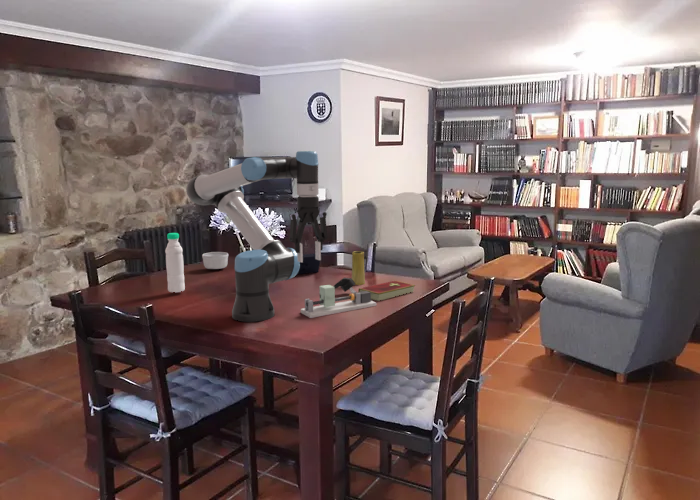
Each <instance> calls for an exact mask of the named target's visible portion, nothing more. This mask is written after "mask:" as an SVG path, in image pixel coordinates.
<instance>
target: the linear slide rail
mask: <svg viewBox="0 0 700 500" xmlns="http://www.w3.org/2000/svg"><path fill="white" fill-rule="evenodd" d="M323 303H324V300H321V301H320V300H316V301H314V300H311V299H310V298H304V307H303V308H300V313H301V314H302V315H304V316H305V317H308V318H309V319H313V318H318V317H323V316H328V315H329V316H330V315H335V314H339V313H344V312H350V311H355V310H360V309H366V308H371V307H377V302H375V301H373V300H372V299H371V292H368V291H362V292H357V291H356V290H355V292H352V293H349V295H347V296H341V297H335V306H330V307H324V305H320V304H323ZM315 305H316V306H315Z"/></svg>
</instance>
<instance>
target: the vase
mask: <svg viewBox="0 0 700 500" xmlns="http://www.w3.org/2000/svg"><path fill="white" fill-rule="evenodd" d="M351 261H352V263H351V278H352V280H353V281H354V282H355V285H354V286H362V285H365V284H366V280H365V279H366V278H365V277H366V275H365V252H364V251H362V250H361V251H360V250H359V251H358V250H355V251H352V253H351Z"/></svg>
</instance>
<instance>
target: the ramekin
mask: <svg viewBox="0 0 700 500" xmlns="http://www.w3.org/2000/svg"><path fill="white" fill-rule="evenodd" d="M201 256H202V262H203V267H204V268H205V269H207V270H219V269H224V268H227V266H228V262H229V261H228V260H229V253H228V252H224V251H211V252H206V253H205V252H204V253H203V254H202V255H201Z"/></svg>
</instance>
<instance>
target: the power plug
mask: <svg viewBox="0 0 700 500" xmlns="http://www.w3.org/2000/svg"><path fill="white" fill-rule="evenodd" d="M332 286H333V287H335V290H336V289H338V288H339V287H340V288H341V289H342V290H343V291H344V292H347V291H349V292H351V293H350V294H352V292H355V291H356V290H355V289H354V288H353V286H356V285H355V282H354V281H353V280H352V277H351V278H350V277H343V278H342V279H340V280H339V281H338V282H336V283H335V284H333V285H332Z"/></svg>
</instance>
